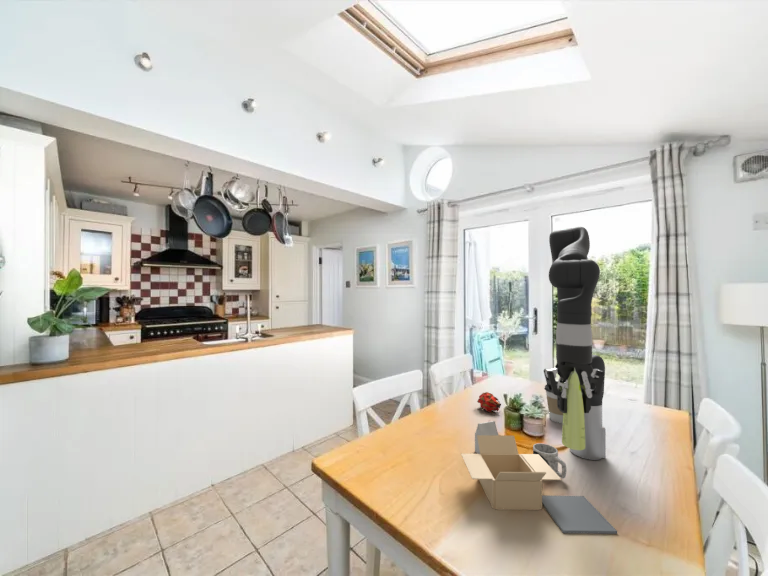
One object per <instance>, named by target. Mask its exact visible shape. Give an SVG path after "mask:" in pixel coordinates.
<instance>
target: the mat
mask: <svg viewBox="0 0 768 576" xmlns="http://www.w3.org/2000/svg"><path fill="white" fill-rule="evenodd" d="M542 507H543V508H544V509H545V510H546V512H547V513H548V514H549V515H550V517H551V518H552V520H553V521H554V523H555V524H556V525H557V527H558V528H559V529H560V530H561V533H563V534H594V535H595V534H599V535H600V534H603V535H604V534H605V535H606V534H607V535H608V534H609V535H618V530H617V529H616V528H615V527H614V525H612V524H611V523H610V522H609V521H608V520H607V519H606V518H605V516H603V515H602V514H601V512H600V511H599V510H598V509H597V508H596V507H595V506H594V505H593V504H592V503H591V502H590V501H589V499H588V498H586V497H585V496H584V495H543V494H542Z"/></svg>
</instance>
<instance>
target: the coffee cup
mask: <svg viewBox="0 0 768 576" xmlns="http://www.w3.org/2000/svg"><path fill="white" fill-rule="evenodd" d="M564 383H566V382H564ZM556 384H557V387H558V381H557V380H556ZM543 389H544V390H545V393H546V394H545V395H546V400H547V408H548V416H549V418H550V421H552V422H554V421H555V423H557V422H559V423H558V424H563V413H562V412H561V411H560V410H559V409H558V407H557V395H554V394H553V393H551V392H550V391H549V389H548V386H547V384H545V385H544V387H543ZM549 412H550V413H549Z"/></svg>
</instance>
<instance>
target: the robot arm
mask: <svg viewBox="0 0 768 576" xmlns="http://www.w3.org/2000/svg"><path fill="white" fill-rule="evenodd" d="M548 241H549V249H550V255H551V259H552V264H551V265H550V267H549V271H548V280H549V283H550V285H551V286H552V287H554V288H556V293H557V305H556V306H557V307H556V312H557V313H556V318H557V320H556V321H557V324H556V331H555V339H556V340H555V347H556V348H555V354H556V355H555V357H556V364H555V366H554V367H553V368H550V369H548V368H544V369H543V374H544V378H545V382H546V385H547V386H548V389H549V391H550V392H551V393H553V394H554V395H557V407H558V409H559V410H560V411H561V412H562V413H567V398H566V395H567V392H568V389H569V384H570V378H571V376H572V374H573V372H574V368H575V371H576V373H577V375H578V378H579V382H580V387H581V393H582V399H583V407H584V419H585V449H584V450H580V451H579V450H573V449H570V448H569V450H570V452H571V453H572V454H574V455H575V456H577V457H579V458H582V459H586V460H592V461H599V460H602V459H603V458H606V457H607V455H606V451H607V450H606V449H607V448H606V442H607V441H606V436H607V435H606V427H604V426H603V398H604V393H605V380H606V379H605V378H606V366H605V362H604V359H603V358H602V357H601V356H600V355H597V354H594V353H593V331H592V325H591V324H592V323H591V322H592V314H593V312H592V301H593V296H594V294H595V290H596V288H597V285H598V282H599V279H600V275H601V270H600V269H601V268H600V266H599V265H598V263H597V262H596V261H595V260H593V259H589V258H588V255H589V253H590V248H591V245H590V244H591V243H590V242H591V241H590V235H589V231H588V230H587V229H586V228H585V227H583V226H575V227H569V228H563V229H557V230H553V231H551V232H550V234H549V240H548ZM557 375H558V376H559V378H558V387H557V384H556V381H557V380H556V378H557ZM564 382H565V383H564Z"/></svg>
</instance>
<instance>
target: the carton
mask: <svg viewBox="0 0 768 576" xmlns="http://www.w3.org/2000/svg"><path fill="white" fill-rule="evenodd" d="M477 439H478V444H479V450H480V454H477V453H460V455H461V457H462V459H463V461H464V464H465V466H466V468H467V471H468V473H469V476H470V477H471V480H479V483H480V485H481V487H482V489H483V491H484V493H485V496H486V498H487V499H488V502H489V503H490V506H491V508H492V509H493V510H494V509H495V510H502V511H503V510H509V511H512V510H513V511H515V510H516V511H519V510H520V511H521V510H522V511H524V510H525V511H529V510H530V511H533V510H534V511H541V510H543V505H542V495H543V481H562V479H563V478H561V477H559V476H558V475H557V474H556V473H555V472H554V470H553V469H552V468H551V467H550V466H549V465H548V464H547V463H546V462H545V461H544V460H543V459H542V457H541V456H540V455H539V454H533V453H519V450H518V446H517V442H516V439H515V435H499V436H497V435H477Z"/></svg>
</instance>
